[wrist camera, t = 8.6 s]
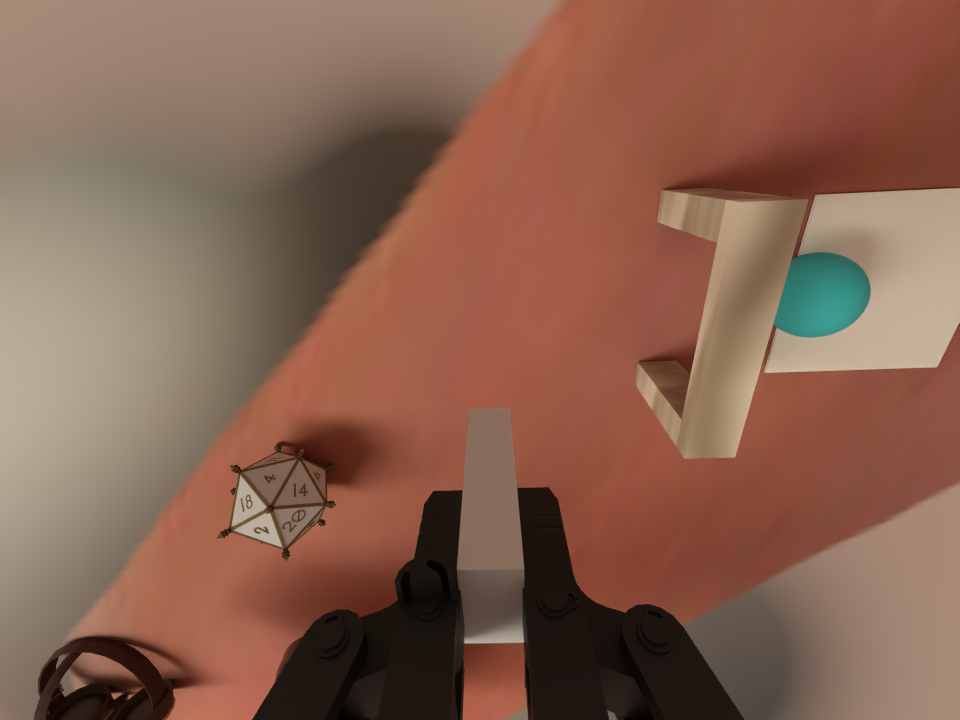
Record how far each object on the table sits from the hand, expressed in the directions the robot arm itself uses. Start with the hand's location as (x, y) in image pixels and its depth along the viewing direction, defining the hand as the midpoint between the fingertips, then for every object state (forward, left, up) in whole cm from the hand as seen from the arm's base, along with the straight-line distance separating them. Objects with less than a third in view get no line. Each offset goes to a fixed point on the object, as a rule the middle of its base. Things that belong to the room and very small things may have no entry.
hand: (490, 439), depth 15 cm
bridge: (0, -13, -16) cm, 21 cm away
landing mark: (0, -28, -16) cm, 32 cm away
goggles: (-47, +50, -17) cm, 70 cm away
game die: (-15, +18, -17) cm, 28 cm away
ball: (+1, -21, -14) cm, 25 cm away
